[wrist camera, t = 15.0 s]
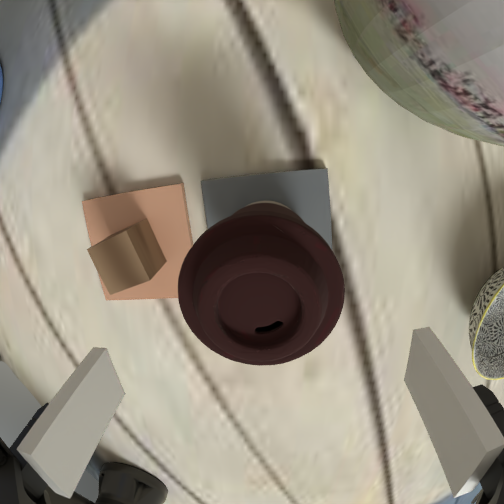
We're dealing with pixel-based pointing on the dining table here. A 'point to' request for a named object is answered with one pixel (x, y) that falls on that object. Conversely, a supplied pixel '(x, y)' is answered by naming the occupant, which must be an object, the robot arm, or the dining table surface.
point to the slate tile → (273, 196)
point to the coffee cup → (261, 286)
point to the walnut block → (128, 257)
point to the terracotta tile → (162, 223)
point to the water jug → (1, 83)
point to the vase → (434, 59)
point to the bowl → (488, 329)
